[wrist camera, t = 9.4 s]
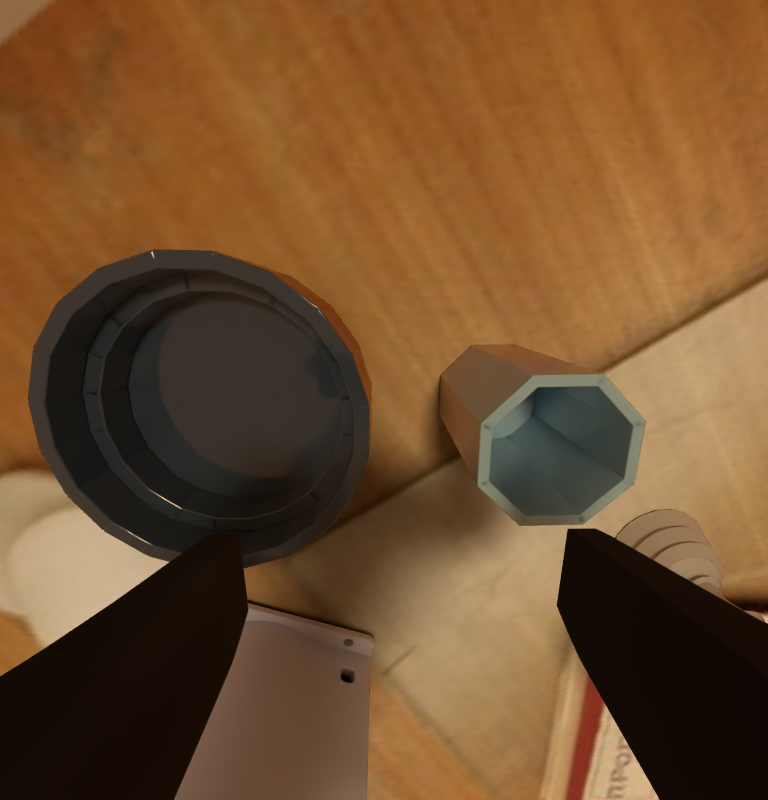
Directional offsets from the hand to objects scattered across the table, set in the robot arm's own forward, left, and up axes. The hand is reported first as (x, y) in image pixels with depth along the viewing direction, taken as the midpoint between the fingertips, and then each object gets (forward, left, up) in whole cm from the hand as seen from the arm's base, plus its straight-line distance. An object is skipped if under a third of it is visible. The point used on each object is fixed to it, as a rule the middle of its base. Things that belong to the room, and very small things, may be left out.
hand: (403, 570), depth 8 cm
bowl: (+7, +1, -10) cm, 12 cm away
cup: (-4, -3, -10) cm, 11 cm away
